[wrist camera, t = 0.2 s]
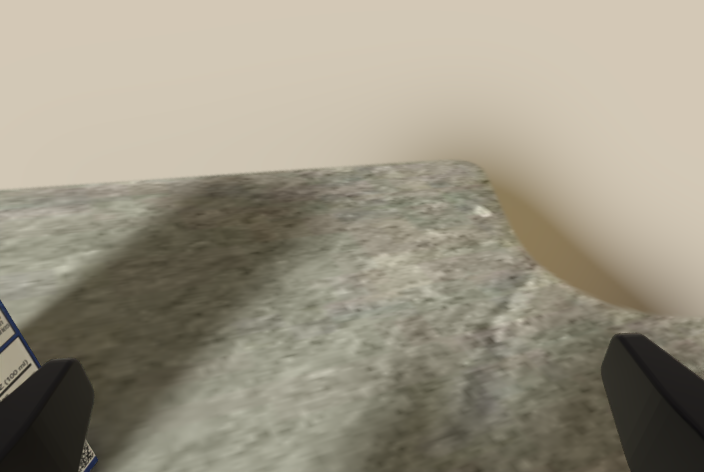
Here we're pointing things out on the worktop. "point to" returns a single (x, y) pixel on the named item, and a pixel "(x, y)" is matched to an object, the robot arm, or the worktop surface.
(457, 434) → the worktop surface
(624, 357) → the robot arm
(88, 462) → the beverage box
